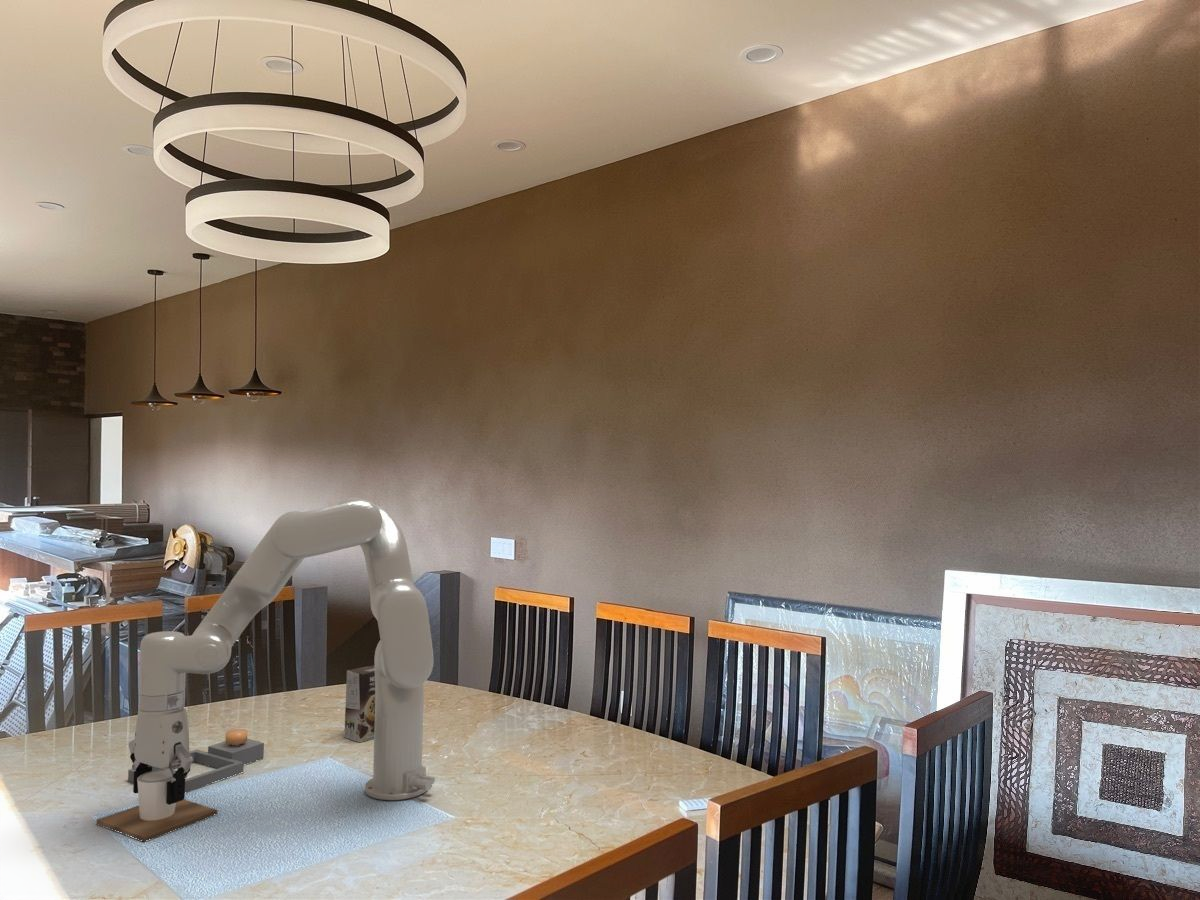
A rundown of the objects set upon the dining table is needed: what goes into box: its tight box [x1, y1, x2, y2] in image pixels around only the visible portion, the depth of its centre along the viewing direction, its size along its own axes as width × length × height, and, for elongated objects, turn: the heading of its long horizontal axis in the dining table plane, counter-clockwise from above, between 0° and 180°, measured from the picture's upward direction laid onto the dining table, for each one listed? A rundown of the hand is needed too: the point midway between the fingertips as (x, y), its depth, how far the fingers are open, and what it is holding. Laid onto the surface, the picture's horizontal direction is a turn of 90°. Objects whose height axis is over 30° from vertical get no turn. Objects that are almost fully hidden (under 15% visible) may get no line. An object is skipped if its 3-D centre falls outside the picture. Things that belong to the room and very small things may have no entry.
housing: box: [127, 738, 265, 793], centre depth 179 cm, size 15×23×4 cm, turn 150°
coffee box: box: [343, 664, 375, 743], centre depth 205 cm, size 9×6×16 cm
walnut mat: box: [96, 798, 218, 842], centre depth 154 cm, size 14×14×1 cm
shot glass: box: [137, 769, 177, 821], centre depth 154 cm, size 7×7×7 cm
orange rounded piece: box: [224, 728, 248, 747], centre depth 186 cm, size 4×4×4 cm
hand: (158, 796), depth 154 cm, fingers open, 9 cm apart
